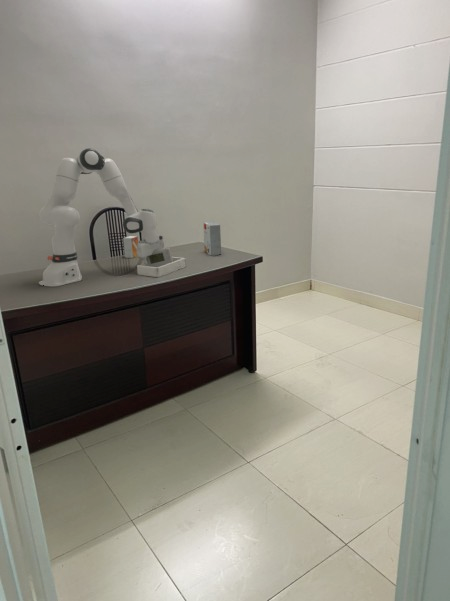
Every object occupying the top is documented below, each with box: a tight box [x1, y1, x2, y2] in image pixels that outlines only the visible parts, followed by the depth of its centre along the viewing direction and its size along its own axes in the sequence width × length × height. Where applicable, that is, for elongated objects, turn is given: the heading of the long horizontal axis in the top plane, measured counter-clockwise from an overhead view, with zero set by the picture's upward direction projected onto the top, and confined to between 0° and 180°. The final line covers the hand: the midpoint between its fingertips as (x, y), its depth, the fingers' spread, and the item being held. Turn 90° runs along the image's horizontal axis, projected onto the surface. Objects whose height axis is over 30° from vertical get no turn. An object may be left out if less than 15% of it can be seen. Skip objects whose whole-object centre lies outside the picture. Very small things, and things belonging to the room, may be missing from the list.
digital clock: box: [144, 247, 173, 267], centre depth 242 cm, size 16×9×11 cm, turn 100°
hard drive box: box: [202, 221, 222, 256], centre depth 280 cm, size 16×8×20 cm, turn 17°
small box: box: [122, 235, 139, 259], centre depth 277 cm, size 8×6×13 cm
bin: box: [136, 256, 187, 278], centre depth 240 cm, size 26×14×5 cm, turn 150°
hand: (151, 262), depth 243 cm, fingers open, 8 cm apart
